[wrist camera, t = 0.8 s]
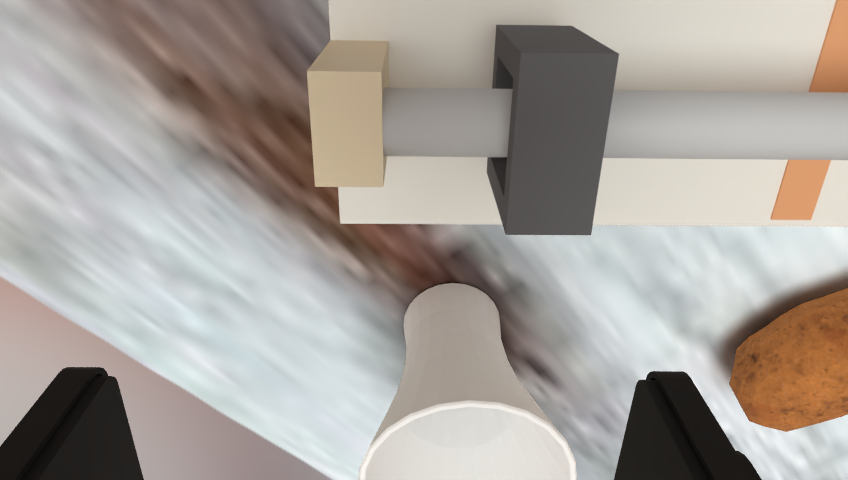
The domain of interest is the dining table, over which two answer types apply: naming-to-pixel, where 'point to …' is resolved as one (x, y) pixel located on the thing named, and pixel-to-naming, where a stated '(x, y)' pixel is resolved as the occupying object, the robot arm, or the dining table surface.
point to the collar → (551, 127)
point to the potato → (796, 366)
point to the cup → (462, 402)
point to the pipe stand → (629, 116)
